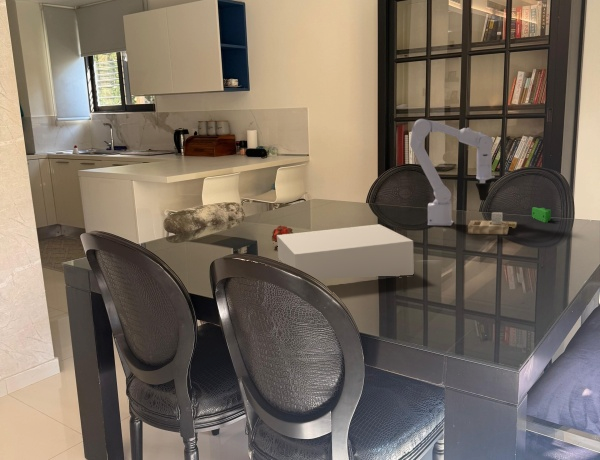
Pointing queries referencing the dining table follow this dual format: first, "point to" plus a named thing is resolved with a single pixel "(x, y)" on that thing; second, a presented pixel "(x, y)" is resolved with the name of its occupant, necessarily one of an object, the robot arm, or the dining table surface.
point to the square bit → (496, 218)
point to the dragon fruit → (280, 232)
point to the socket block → (487, 227)
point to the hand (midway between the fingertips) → (483, 198)
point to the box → (348, 252)
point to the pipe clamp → (541, 214)
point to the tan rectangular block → (512, 224)
